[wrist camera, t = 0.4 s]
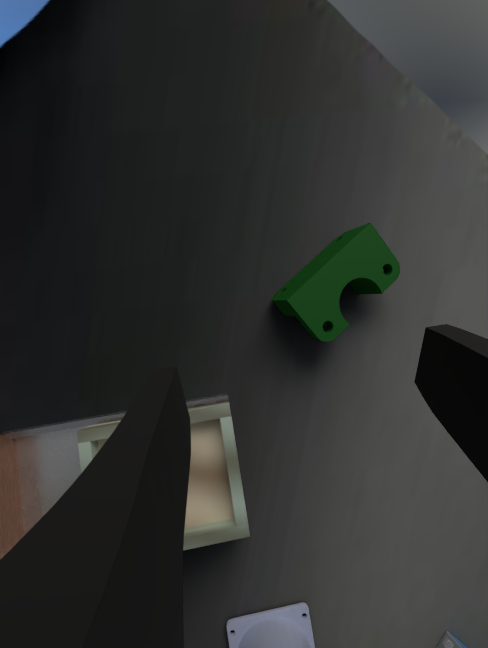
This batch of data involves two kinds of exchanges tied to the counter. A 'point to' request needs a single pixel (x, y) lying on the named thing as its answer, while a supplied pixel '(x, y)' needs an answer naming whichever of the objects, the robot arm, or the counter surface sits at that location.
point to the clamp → (338, 281)
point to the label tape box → (450, 642)
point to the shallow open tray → (198, 475)
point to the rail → (45, 469)
